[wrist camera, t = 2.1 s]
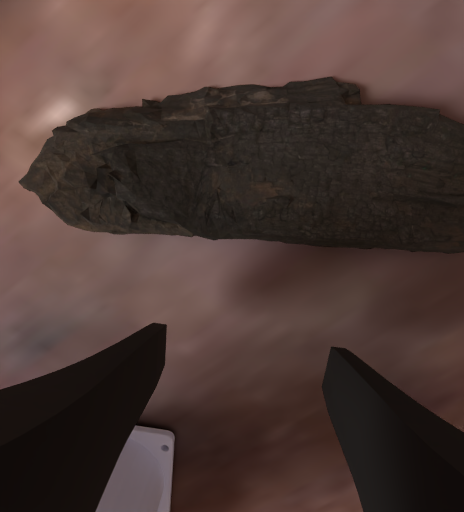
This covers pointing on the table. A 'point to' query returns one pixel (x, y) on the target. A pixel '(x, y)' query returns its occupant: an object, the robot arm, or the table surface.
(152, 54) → the table surface
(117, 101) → the table surface
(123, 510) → the robot arm
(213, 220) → the wood
